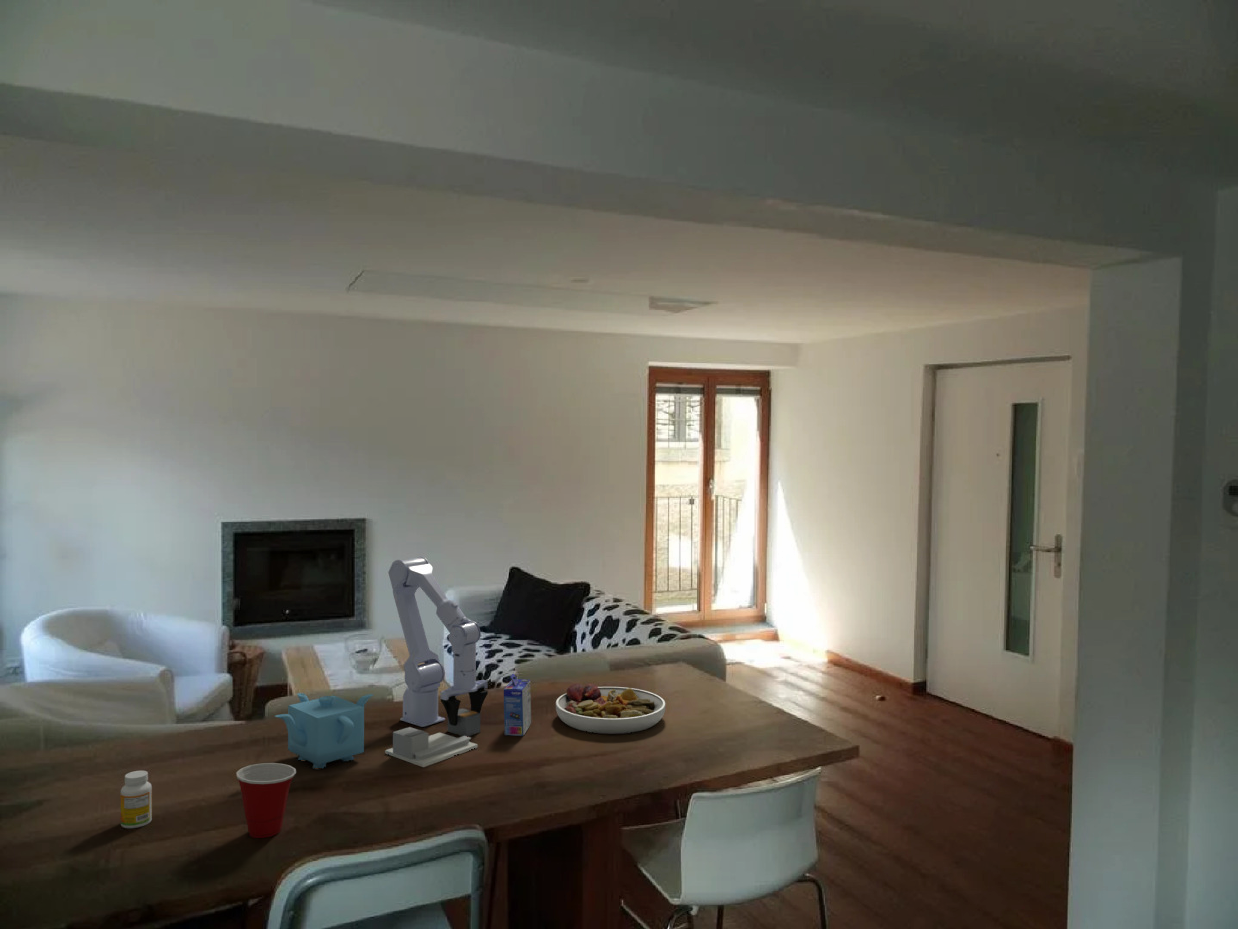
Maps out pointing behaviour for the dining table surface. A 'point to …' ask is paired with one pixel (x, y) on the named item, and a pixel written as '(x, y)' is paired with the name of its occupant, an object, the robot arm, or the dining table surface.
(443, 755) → the rail plate
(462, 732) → the block
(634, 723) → the bowl
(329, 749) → the teakettle
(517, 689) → the ink cartridge box
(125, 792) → the supplement bottle
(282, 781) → the plastic cup
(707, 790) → the dining table surface
